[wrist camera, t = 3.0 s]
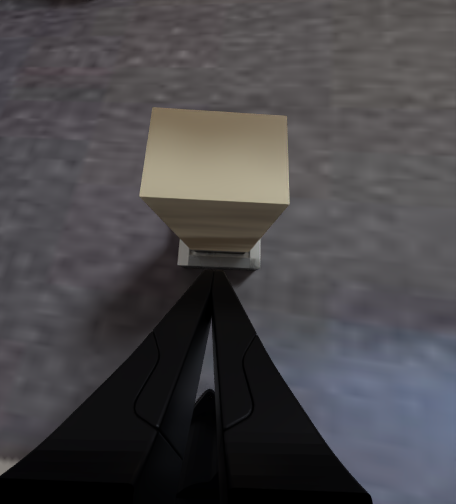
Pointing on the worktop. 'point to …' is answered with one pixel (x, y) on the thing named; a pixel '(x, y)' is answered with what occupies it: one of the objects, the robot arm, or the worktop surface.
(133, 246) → the worktop surface
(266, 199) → the lever
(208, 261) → the fader track
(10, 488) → the robot arm
